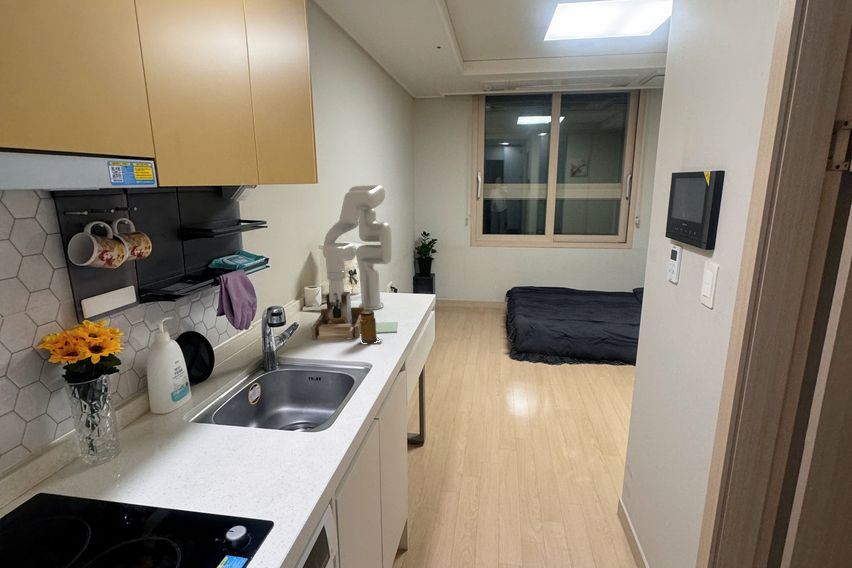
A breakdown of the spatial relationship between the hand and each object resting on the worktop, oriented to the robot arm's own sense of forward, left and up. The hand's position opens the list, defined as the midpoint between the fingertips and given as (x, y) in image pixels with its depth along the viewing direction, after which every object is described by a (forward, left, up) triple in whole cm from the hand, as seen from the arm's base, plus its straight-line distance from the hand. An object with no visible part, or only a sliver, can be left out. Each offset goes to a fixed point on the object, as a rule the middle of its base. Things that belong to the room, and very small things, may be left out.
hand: (339, 314), depth 188 cm
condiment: (+16, +15, -7) cm, 23 cm away
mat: (+1, +18, -7) cm, 19 cm away
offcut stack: (+10, 0, -7) cm, 12 cm away
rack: (+2, 0, -7) cm, 7 cm away
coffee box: (0, 0, -7) cm, 7 cm away
